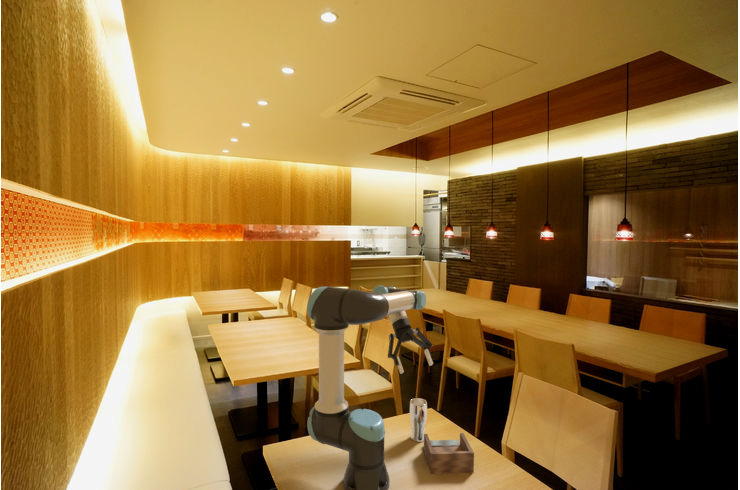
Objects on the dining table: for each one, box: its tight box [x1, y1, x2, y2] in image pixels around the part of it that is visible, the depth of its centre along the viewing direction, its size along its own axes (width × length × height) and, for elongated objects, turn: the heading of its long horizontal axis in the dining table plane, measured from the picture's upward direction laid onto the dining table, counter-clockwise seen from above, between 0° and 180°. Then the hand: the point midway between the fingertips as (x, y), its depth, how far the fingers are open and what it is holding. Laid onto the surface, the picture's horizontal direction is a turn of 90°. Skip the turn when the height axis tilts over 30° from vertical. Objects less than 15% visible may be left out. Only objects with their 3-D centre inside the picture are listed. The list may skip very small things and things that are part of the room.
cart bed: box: [423, 432, 475, 475], centre depth 146 cm, size 15×17×7 cm
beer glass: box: [409, 397, 428, 443], centre depth 159 cm, size 7×7×15 cm
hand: (417, 368), depth 162 cm, fingers open, 13 cm apart
